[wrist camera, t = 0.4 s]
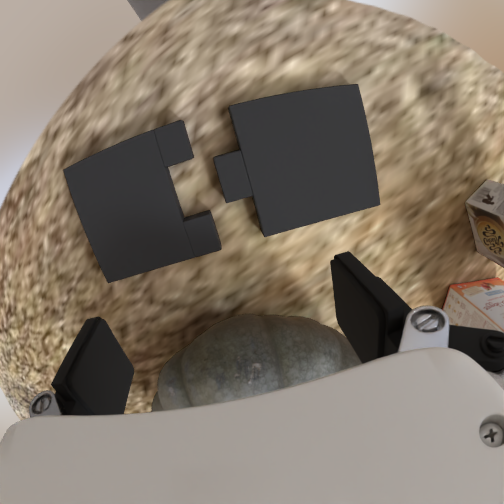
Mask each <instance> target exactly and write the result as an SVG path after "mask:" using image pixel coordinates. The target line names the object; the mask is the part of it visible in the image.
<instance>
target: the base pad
mask: <svg viewBox="0 0 504 504" xmlns="http://www.w3.org/2000/svg"><path fill="white" fill-rule="evenodd" d="M192 158H194V155H193V152H192V148H191V145H190V141H189V138H188V135H187V131H186V128H185V124H184V121H182V120H179V121H176V122H173V123H170V124H168V125H165V126H162V127H159V128H156V129H154V130H151V131H148V132H146V133H143V134H140V135H138V136H135V137H133V138H130V139H128V140H125V141H123V142H121V143H118V144H116V145H114V146H111V147H109V148H107V149H105V150H102V151H100V152H98V153H96V154H94V155H92V156H90V157H88V158H86V159H83V160H81V161H79V162H77V163H75V164H73V165H72V166H70V167H68V168H66V169H64V170H63V171H64V174H65V177H66V180H67V184H68V187H69V190H70V193H71V195H72V198H73V201H74V204H75V207H76V209H77V212H78V215H79V218H80V220H81V223H82V225H83V228H84V230H85V233H86V235H87V238H88V240H89V242H90V245H91V247H92V249H93V252H94V254H95V256H96V259H97V261H98V263H99V265H100V267H101V270H102V272H103V274H104V276H105V278H106V280H107V282H108V283H111V282H114V281H117V280H121V279H124V278H127V277H131V276H134V275H137V274H141V273H144V272H147V271H151V270H154V269H157V268H161V267H164V266H168V265H171V264H174V263H178V262H181V261H185V260H188V259H191V258H195V257H198V256H202V255H205V254H208V253H212V252H215V251H219V250H221V242H220V239H219V236H218V233H217V230H216V226H215V223H214V220H213V217H212V214H211V211H210V210H208V211H205V212H202V213H198V214H195V215H192V216H189V217H186V218H184V215H183V212H182V209H181V206H180V203H179V200H178V197H177V194H176V191H175V188H174V185H173V182H172V178H171V175H170V172H169V169H168V167H169V166H172V165H175V164H178V163H181V162H184V161H187V160H190V159H192Z"/></svg>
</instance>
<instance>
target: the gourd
mask: <svg viewBox="0 0 504 504" xmlns="http://www.w3.org/2000/svg"><path fill="white" fill-rule="evenodd" d="M361 364H362V363H361V361H360V359H359V358H358V356H357V354H356V352H355V351H354V349H353V347H352V346H351V344H350V342H349V341H348V339H347V338H346V337H345V336H344V335H342V334H341V333H339V332H338V331H337V330H335V329H333V328H331V327H328V326H326V325H322V324H320V323H318V322H317V321H314V320H312V319H309V318H305V317H297V316H290V317H283V316H279V315H264V316H257V315H254V314H242V315H237V316H234V317H231V318H229V319H227V320H224V321H221V322H219V323H217V324H215V325H213V326H212V327H210V328H209V329H208V330H207V331H205V332H204V333H203V334H201V335H200V336H198V337H197V338H196V339H195V340H194V341H193V342H192V343H191V344H190V345H189V346H187V347H185V348H183V349H182V350H180V351H179V352H178V353H177V354H175V355H174V356H173V357H172V358H171V359H170V360H169V361H168V362H167V363H166V364H165V366H164V367H163V369H162V370H161V372H160V375H159V379H158V391H157V393H156V395H155V397H154V399H153V402H152V411H151V412H156V411H166V410H174V409H182V408H189V407H195V406H202V405H208V404H214V403H219V402H225V401H230V400H235V399H240V398H245V397H249V396H254V395H258V394H262V393H267V392H271V391H275V390H279V389H283V388H286V387H290V386H294V385H297V384H301V383H304V382H308V381H311V380H314V379H318V378H321V377H324V376H327V375H330V374H333V373H336V372H339V371H342V370H345V369H349V368H352V367H355V366H358V365H361Z"/></svg>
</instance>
